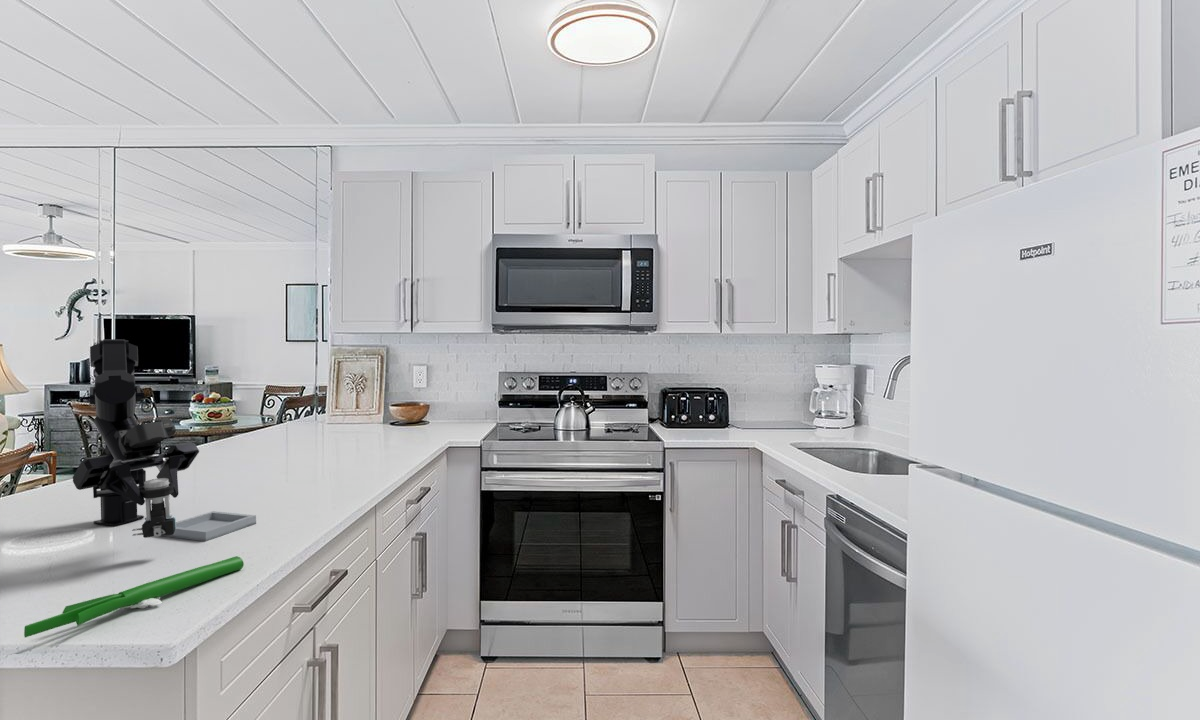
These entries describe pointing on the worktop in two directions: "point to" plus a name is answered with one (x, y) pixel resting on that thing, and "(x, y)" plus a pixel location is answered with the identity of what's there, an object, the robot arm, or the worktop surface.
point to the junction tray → (211, 525)
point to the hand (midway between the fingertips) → (160, 499)
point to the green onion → (135, 596)
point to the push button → (157, 508)
